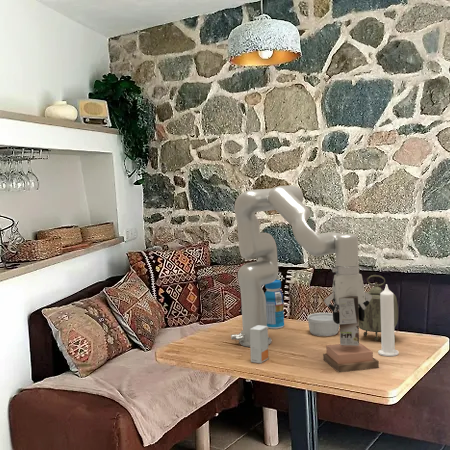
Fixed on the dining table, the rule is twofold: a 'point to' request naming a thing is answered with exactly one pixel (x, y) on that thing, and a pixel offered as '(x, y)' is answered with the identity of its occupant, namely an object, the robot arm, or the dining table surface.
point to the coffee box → (349, 321)
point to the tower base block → (351, 364)
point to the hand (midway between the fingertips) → (348, 321)
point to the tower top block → (349, 353)
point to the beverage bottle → (274, 305)
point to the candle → (387, 323)
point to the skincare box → (259, 344)
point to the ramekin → (322, 324)
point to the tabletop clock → (375, 310)
